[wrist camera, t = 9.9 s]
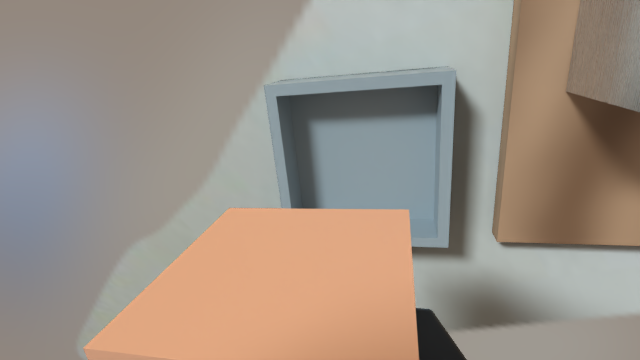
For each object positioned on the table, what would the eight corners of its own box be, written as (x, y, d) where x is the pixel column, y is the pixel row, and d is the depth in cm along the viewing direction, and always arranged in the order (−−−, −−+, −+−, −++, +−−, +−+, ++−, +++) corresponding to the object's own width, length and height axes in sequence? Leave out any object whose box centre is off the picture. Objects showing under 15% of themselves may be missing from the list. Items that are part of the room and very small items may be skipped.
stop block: (255, 342, 9) (164, 534, 6) (229, 208, 8) (83, 347, 4) (408, 357, 8) (417, 599, 5) (409, 209, 7) (421, 390, 3)
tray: (299, 220, 20) (286, 242, 18) (281, 80, 17) (264, 85, 15) (442, 222, 18) (448, 247, 16) (447, 66, 16) (456, 70, 13)
